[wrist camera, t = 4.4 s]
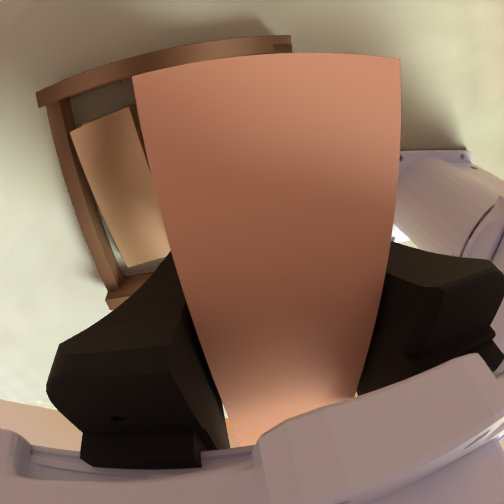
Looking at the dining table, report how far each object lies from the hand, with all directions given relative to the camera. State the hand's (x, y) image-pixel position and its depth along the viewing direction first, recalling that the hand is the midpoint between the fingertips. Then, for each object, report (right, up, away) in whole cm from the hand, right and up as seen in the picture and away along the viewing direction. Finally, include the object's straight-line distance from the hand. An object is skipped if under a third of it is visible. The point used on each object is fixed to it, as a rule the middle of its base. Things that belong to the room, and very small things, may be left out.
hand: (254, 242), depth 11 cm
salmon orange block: (-1, +2, +3) cm, 3 cm away
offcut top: (-8, +4, +7) cm, 11 cm away
